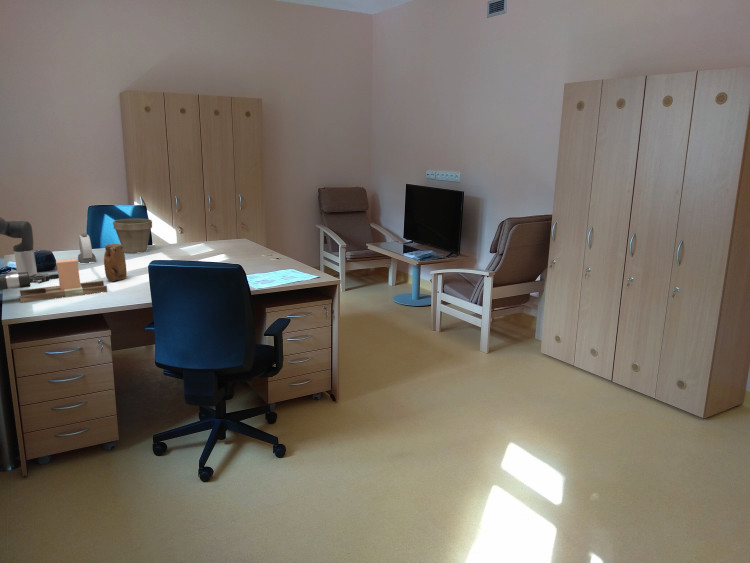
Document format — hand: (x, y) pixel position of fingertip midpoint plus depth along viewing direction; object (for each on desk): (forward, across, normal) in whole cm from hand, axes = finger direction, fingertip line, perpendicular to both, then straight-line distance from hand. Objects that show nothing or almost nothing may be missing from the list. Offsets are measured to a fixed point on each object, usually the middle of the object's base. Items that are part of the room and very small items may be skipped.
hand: (58, 276), depth 280 cm
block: (+28, +18, +10) cm, 35 cm away
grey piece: (+20, +77, +10) cm, 80 cm away
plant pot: (+52, +97, +10) cm, 110 cm away
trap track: (+2, 0, +10) cm, 10 cm away
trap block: (+4, 0, +7) cm, 8 cm away
